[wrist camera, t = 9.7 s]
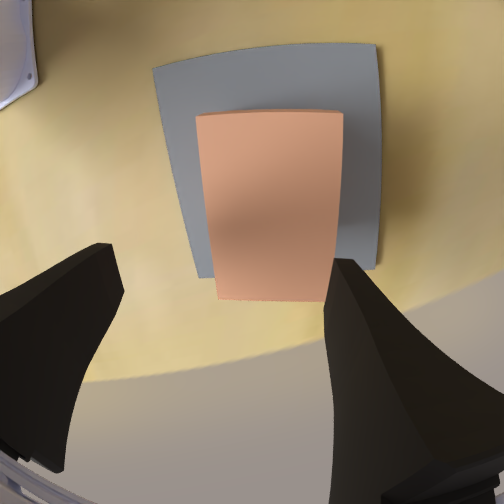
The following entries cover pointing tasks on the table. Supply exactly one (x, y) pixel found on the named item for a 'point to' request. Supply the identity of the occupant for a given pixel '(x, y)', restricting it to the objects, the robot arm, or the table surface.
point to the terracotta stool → (271, 200)
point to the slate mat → (280, 97)
